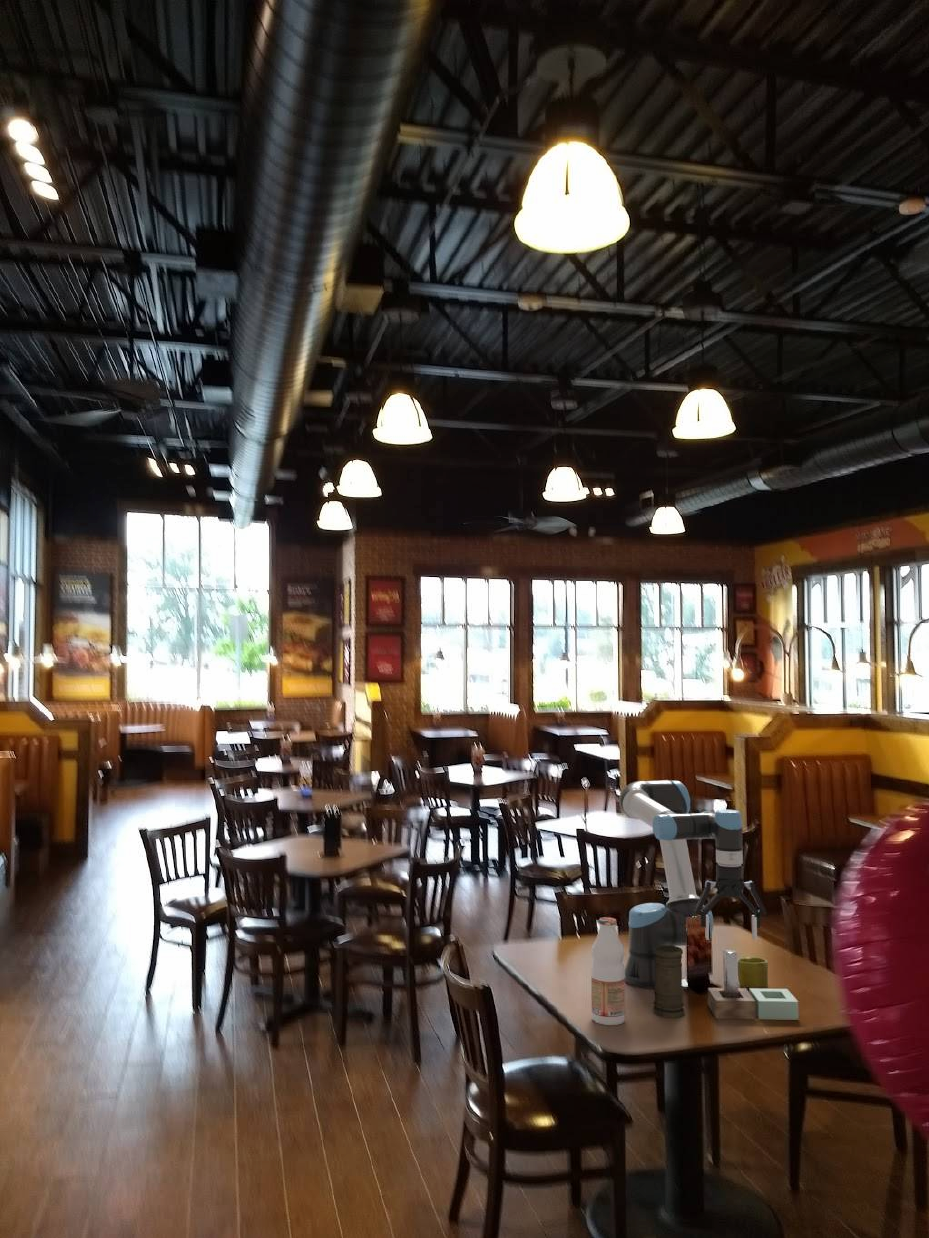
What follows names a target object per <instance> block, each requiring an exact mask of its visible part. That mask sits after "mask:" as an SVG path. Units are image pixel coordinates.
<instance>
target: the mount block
mask: <svg viewBox="0 0 929 1238" xmlns="http://www.w3.org/2000/svg"><path fill="white" fill-rule="evenodd" d="M707 1006H708V1007H709V1010H710V1011H711V1013H712V1014H713V1016H714V1017H715V1019H717V1020H718V1019H722V1020H756V1014H755V1000H754V999H753V997H752V996H751V995H750V993H749V991H748V989H746V988H743V987H738V998H724V987H708V988H707Z"/></svg>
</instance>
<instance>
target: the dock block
mask: <svg viewBox="0 0 929 1238" xmlns="http://www.w3.org/2000/svg"><path fill="white" fill-rule="evenodd" d="M748 990H749V991H748V992H749V993H750V995H751V996H752V997H753V999H754V1000H755V1017H757V1018H758V1020H779V1021H780V1020H785V1021H786V1020H787V1021H789V1020H791V1021H792V1020H793V1021H794V1020H795V1021H796V1020H797V1021H800V1020H799V1016H800V1015H799V1014H800V1013H799V1001H798V1000H797V998H796V997H795V996H794V995H793V994H792V993H791V991H790V990H789V989H788V988H762V989H759V988H749V989H748Z"/></svg>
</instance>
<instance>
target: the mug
mask: <svg viewBox="0 0 929 1238" xmlns="http://www.w3.org/2000/svg"><path fill="white" fill-rule="evenodd" d="M768 963H769V962H768V960H767V959H764V958H762V957H750V956H744V957H742V958H738V984H739V985H740V986H741V987H740V988H746V989H747V990H749V988H759V989H768V987H769V981H768V980H769V977H768V975H769V974H768V973H769V964H768Z"/></svg>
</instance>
